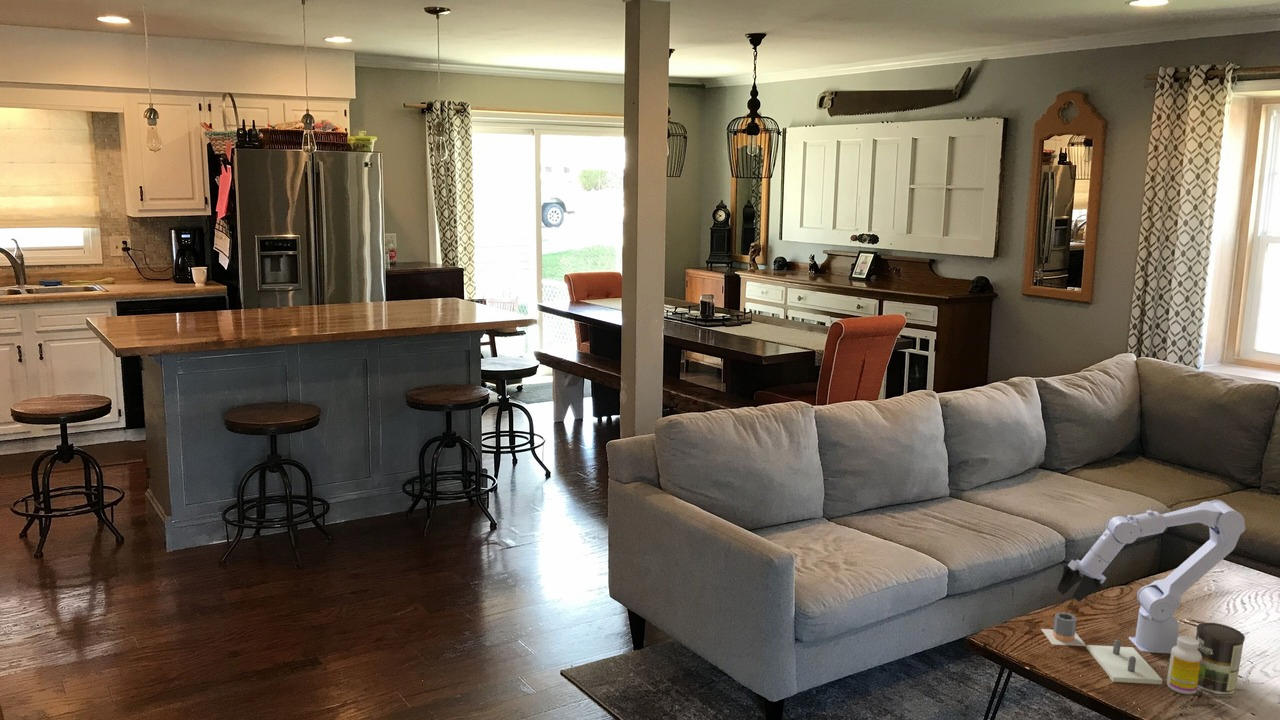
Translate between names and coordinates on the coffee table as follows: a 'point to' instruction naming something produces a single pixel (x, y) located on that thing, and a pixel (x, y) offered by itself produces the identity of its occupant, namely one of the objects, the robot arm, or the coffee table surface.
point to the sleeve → (1064, 627)
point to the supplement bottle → (1184, 666)
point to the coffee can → (1219, 657)
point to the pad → (1075, 642)
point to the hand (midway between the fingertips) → (1067, 595)
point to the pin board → (1124, 664)
